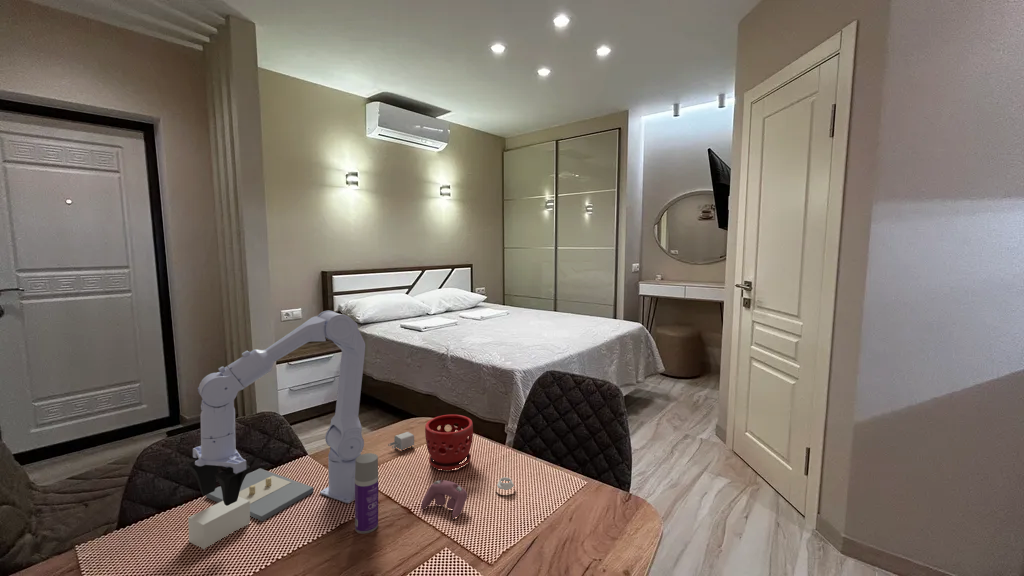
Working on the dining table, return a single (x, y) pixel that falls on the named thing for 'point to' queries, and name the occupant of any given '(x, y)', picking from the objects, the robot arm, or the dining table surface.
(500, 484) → the grey rounded piece
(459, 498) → the video game controller
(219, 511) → the block
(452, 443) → the plant pot
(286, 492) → the stub plate
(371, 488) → the container
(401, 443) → the usb wall charger
